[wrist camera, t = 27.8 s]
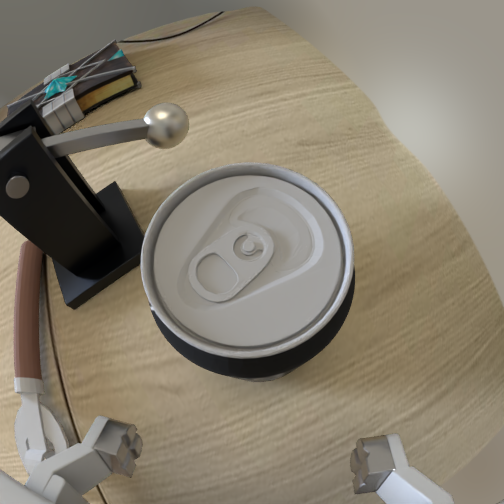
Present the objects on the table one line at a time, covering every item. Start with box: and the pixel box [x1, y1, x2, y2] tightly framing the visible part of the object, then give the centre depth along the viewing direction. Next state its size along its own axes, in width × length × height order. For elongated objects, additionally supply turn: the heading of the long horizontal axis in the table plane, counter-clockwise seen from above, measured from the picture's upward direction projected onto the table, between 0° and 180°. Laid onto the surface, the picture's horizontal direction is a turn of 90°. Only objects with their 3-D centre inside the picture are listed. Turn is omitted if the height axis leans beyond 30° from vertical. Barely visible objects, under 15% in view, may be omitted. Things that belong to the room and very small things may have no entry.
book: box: [7, 40, 141, 135], centre depth 31 cm, size 22×17×5 cm
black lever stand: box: [0, 99, 145, 309], centre depth 16 cm, size 8×8×13 cm
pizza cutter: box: [14, 240, 70, 477], centre depth 16 cm, size 20×6×3 cm, turn 19°
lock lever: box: [0, 103, 189, 158], centre depth 15 cm, size 13×3×3 cm, turn 126°
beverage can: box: [141, 163, 355, 382], centre depth 13 cm, size 7×7×12 cm
